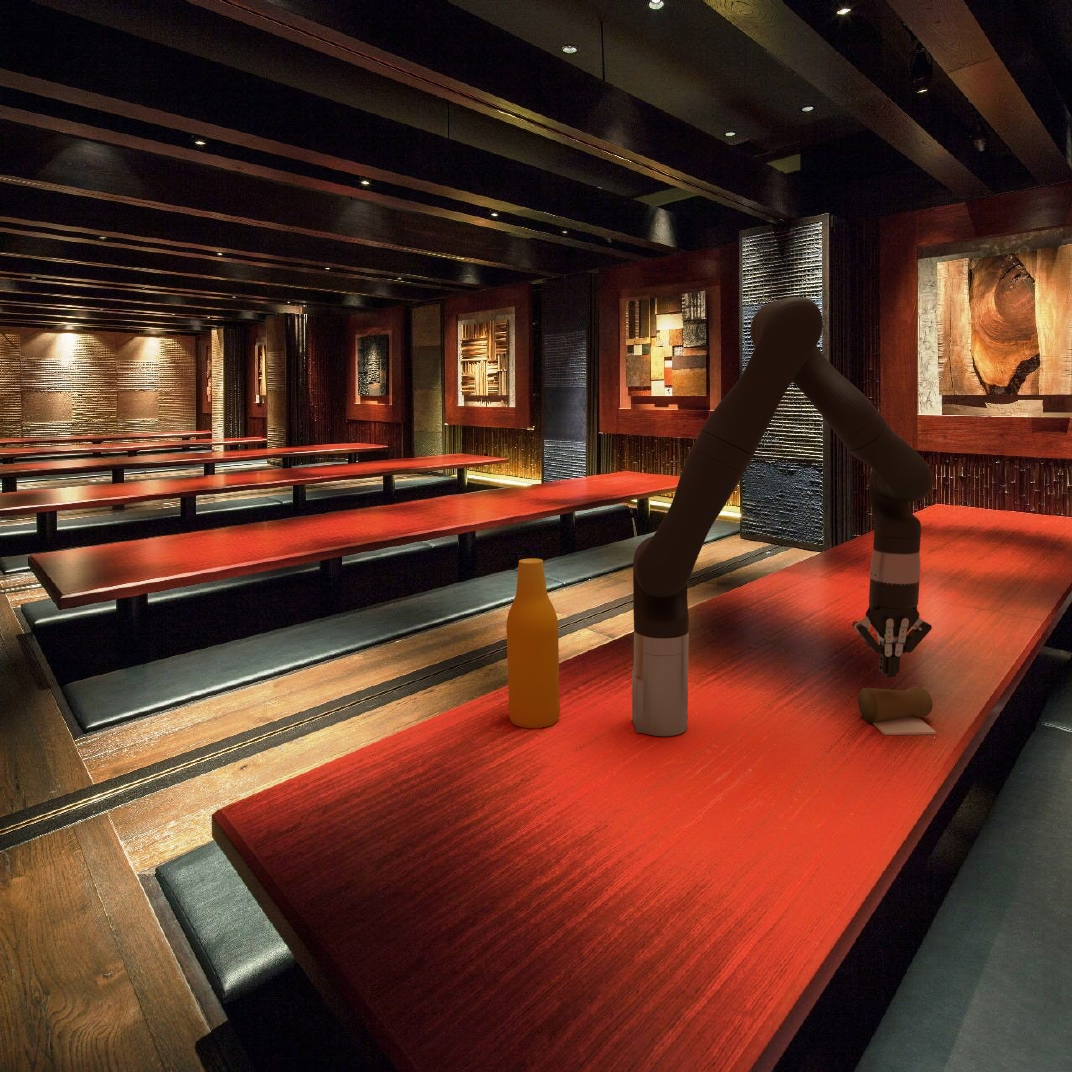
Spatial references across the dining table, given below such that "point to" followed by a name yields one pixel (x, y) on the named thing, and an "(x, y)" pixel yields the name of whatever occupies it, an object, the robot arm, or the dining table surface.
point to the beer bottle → (532, 651)
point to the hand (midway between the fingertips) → (888, 675)
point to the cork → (893, 703)
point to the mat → (904, 726)
